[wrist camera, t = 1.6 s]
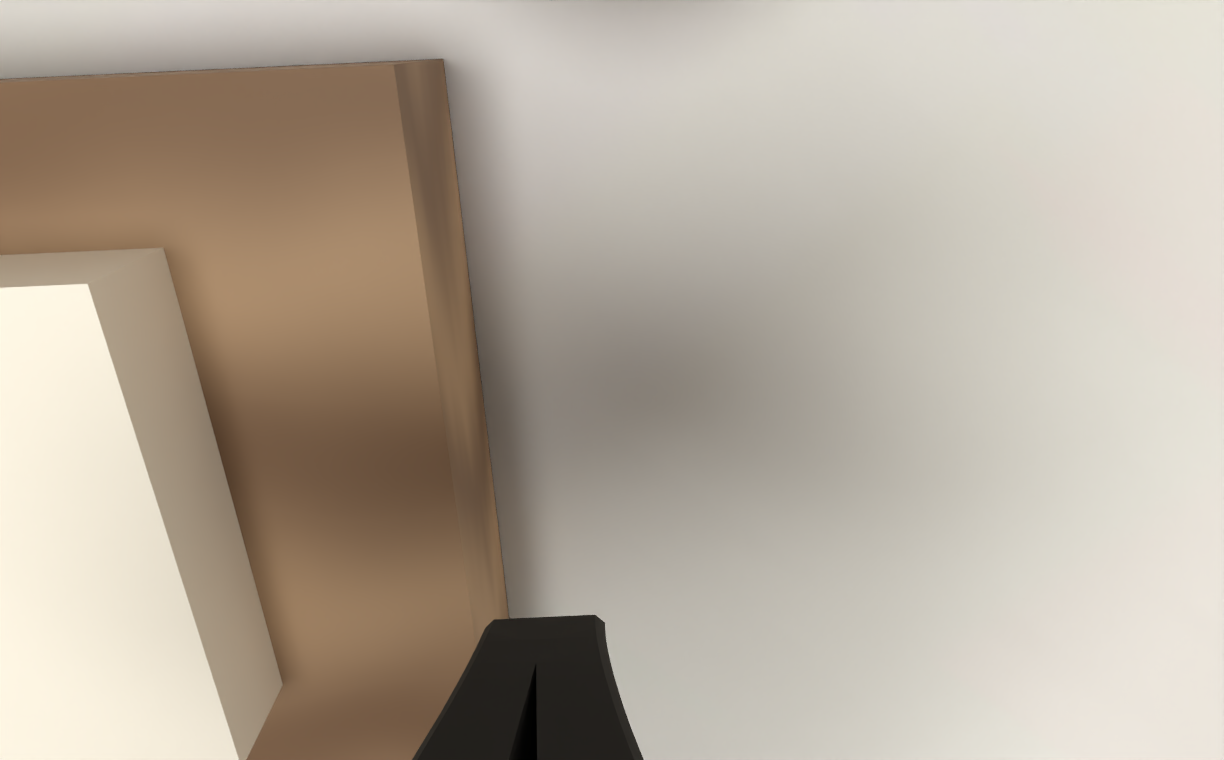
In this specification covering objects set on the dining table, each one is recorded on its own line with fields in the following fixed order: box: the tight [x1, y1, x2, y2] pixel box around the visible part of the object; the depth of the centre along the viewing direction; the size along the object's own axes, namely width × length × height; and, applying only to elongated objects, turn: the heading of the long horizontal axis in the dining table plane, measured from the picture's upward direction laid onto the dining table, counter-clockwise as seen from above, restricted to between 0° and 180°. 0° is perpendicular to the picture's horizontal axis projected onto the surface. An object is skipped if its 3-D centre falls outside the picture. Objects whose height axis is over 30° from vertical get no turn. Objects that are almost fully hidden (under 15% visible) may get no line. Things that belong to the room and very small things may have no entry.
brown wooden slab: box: [0, 59, 509, 760], centre depth 16 cm, size 14×18×4 cm
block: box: [0, 248, 283, 760], centre depth 13 cm, size 9×6×2 cm, turn 2°
